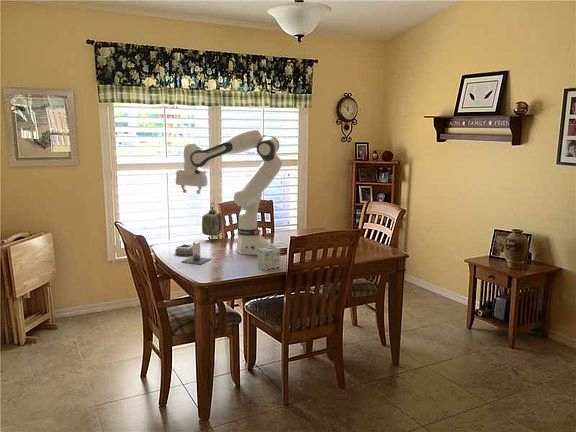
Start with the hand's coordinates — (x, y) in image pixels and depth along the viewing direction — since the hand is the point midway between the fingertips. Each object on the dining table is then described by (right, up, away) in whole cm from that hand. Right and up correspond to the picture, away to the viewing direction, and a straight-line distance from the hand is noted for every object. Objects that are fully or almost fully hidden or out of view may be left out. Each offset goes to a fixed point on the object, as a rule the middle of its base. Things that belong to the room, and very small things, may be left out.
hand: (191, 193), depth 309 cm
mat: (+7, -39, -24) cm, 46 cm away
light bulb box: (+48, -42, -34) cm, 73 cm away
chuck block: (-2, -36, -8) cm, 37 cm away
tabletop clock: (+8, -30, +30) cm, 43 cm away
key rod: (+8, -39, -24) cm, 46 cm away
